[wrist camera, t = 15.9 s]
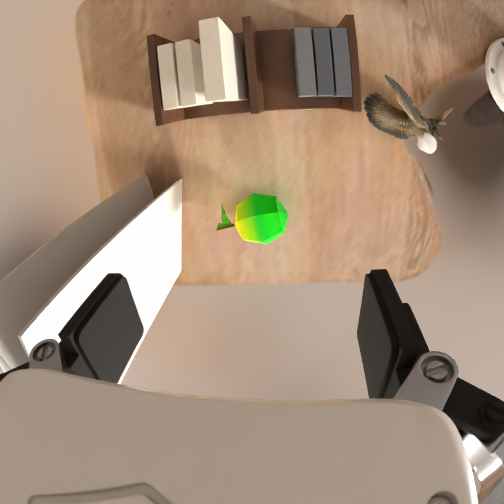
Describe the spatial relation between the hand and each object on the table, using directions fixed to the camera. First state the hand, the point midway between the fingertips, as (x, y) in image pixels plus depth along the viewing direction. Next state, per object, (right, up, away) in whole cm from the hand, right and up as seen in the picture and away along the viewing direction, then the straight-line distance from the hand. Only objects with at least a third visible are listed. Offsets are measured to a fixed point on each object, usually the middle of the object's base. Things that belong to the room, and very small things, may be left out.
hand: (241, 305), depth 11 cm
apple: (+1, +7, +29) cm, 30 cm away
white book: (-1, +22, +19) cm, 30 cm away
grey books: (+8, +23, +18) cm, 30 cm away
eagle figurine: (+18, +19, +20) cm, 33 cm away
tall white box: (-12, +6, +31) cm, 34 cm away
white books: (-6, +22, +20) cm, 31 cm away
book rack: (+1, +23, +20) cm, 30 cm away
